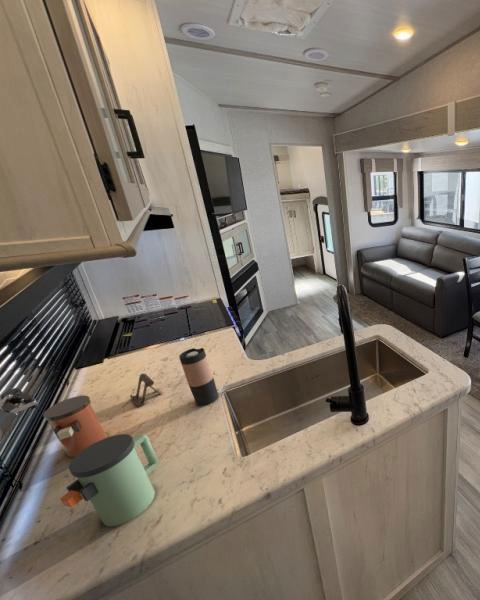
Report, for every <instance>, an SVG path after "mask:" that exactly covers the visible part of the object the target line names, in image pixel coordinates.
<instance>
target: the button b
mask: <svg viewBox="0 0 480 600" xmlns="http://www.w3.org/2000/svg"><path fill="white" fill-rule="evenodd" d="M73 433H74V431H73V429H72V427H67V428H64V429H61V430H59V432H58V433H57V435H58V437H59V439H60V440H61V439H64V438H67V437H71V436H72V435H73ZM59 439H58V440H59Z"/></svg>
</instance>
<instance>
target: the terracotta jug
mask: <svg viewBox="0 0 480 600" xmlns="http://www.w3.org/2000/svg"><path fill="white" fill-rule="evenodd" d="M91 402H92V400H91V398H90V396H89V395H77V396H72V397H70V398H66V399H64V400H62V401H59V402H57V403H55V404H53V405H52V406H50V407H48V408H47V409H46V410H45V411H44V412H43V413H42V416H43V418H44V419H45V421H47V422H48V423H49V425H50V427H51V429H52V430H53V433H54V435H55V436H56V438H57V439H58V441H59V442H60V444H61V446H62V448H63V449H64V452H65V453H66V455H67V456H68V457H69V458H74V457H75V456H77V455H78V454H79V453H80V452H81V451H83V450H84V449H85V448H87V447H89V446H90V445H92V444H94V443H96V442H98V441H100V440H102V439H105V438H107V437H108V435H107V433H106V431H105V428H104V426H103V425H102V423H101V421H100V419H99V417H98V415H97V413H96V411H95V409H94V407H93V406H92V403H91ZM67 427H72V429H73V431H74V433H73V435H72V436H71V437H67V438H64V439H61V440H60V439H59V437H58V435H57V433H58V432H59V430H61V429H64V428H67Z"/></svg>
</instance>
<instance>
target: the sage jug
mask: <svg viewBox="0 0 480 600" xmlns="http://www.w3.org/2000/svg"><path fill="white" fill-rule="evenodd" d="M138 446H140V447H141V449H142V451H143V453H144V456H145V458H146V460H147V462H148V463H147V464H146V465H145V466H144V465H143V463H142V461H141V459H140V457H139V454H138V453H137V451H136V448H137V447H138ZM158 463H159V459H158V457H157V455H156V452H155V450H154V448H153V446H152V443H151V441H150V439H149V437H148V435H146V434H137V435H136V436H135V437H134V438H133V437H132V435H130V434H125V433H121V434H113V435H111V436H107V438H105V439H102V440H100V441H98V442H96V443H94V444H92V445H90V446H89V447H87V448H85V449H84V450H83V451H81V452H80V453H79V454H78V455H77V456H75V457H73V458H72V459H71V461H70V463H69V464H68V471H69V473H70V474H71V475H72V477H74V478H76V480H74V481H73V482H71V483H70V484H69V485H68V486H66V487H65V489H66V490H67V493H68V492H69V491H71V490H73V491H77V492H79V493H80V494H81V496H82V498H83V500H84V501H85V502H89V501H90V503H91V504H92V506H93V508H94V510H95V512H96V513H97V515H98V516H99V518H100V520H101V522H102V523H103V525H104V526H107V527H117V526H120V525H124V524H125V523H128V522H130V521H132V520H133V519H135V518H136V517H138V516H139V515H141V514H142V513H143V512H144V511H145V510H146V509H147V508H148V507H150V505H151V503H152V502H153V500H154V498H155V495H156V494H155V493H156V492H155V489H154V486H153V483H152V482H151V480H150V478H149V476H148V475H149V474H150V473H151V472H153V471H154V470H155V469H156V468H157V467H158Z"/></svg>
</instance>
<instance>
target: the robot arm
mask: <svg viewBox="0 0 480 600" xmlns="http://www.w3.org/2000/svg"><path fill="white" fill-rule="evenodd" d="M38 407H40V405H39V403H38V402H37V400H36V398H35V396H33V395H30V394H27V393H25V392H23V391H22V389H21V388H19V387H13V388H10V389H7V390H6V391H5V392H4V393H2V394H1V395H0V441H1V440H2V439H3V438H4V437H5V436H6V435H7V433H8V432H9V431H10V430H11V428H12V425H13V421H14V419H16V418H17V417H19V416H20V415H21V414H22V411H24V410H29V409H30V410H34V409H37V408H38Z"/></svg>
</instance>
